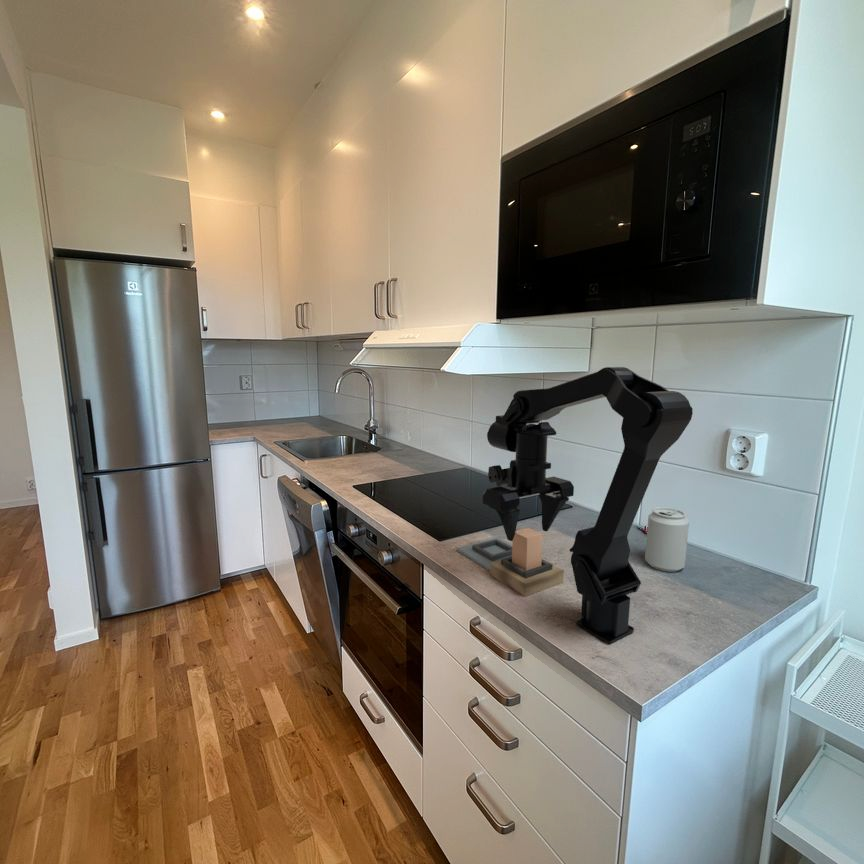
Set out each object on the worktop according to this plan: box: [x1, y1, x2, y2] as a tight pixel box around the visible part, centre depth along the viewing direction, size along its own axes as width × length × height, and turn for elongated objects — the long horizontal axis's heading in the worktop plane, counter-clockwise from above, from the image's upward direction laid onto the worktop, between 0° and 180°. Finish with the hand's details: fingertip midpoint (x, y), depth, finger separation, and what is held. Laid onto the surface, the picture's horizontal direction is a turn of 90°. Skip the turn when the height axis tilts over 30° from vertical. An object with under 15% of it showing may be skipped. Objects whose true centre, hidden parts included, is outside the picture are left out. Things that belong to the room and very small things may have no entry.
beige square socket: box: [489, 556, 565, 597], centre depth 89 cm, size 10×10×4 cm
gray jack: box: [456, 537, 513, 572], centre depth 100 cm, size 12×12×2 cm
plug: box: [512, 527, 544, 571], centre depth 89 cm, size 4×4×7 cm
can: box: [644, 506, 690, 573], centre depth 95 cm, size 8×8×12 cm
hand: (528, 535), depth 88 cm, fingers open, 9 cm apart
